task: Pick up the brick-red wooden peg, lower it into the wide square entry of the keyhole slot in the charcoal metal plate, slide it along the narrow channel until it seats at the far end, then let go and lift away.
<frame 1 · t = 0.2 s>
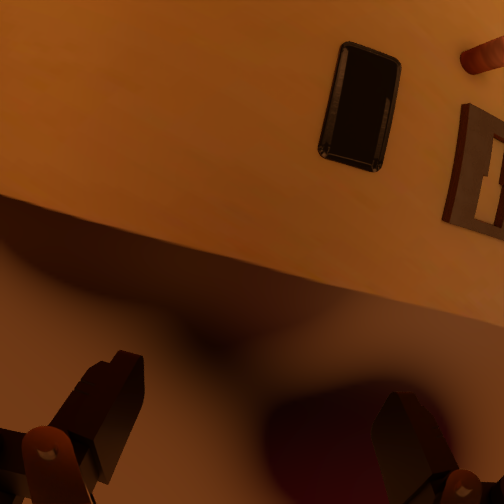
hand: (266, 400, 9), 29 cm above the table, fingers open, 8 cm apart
phone: (360, 105, 33), on the table
peg: (469, 63, 29), on the table
keyhole plate: (489, 176, 33), on the table
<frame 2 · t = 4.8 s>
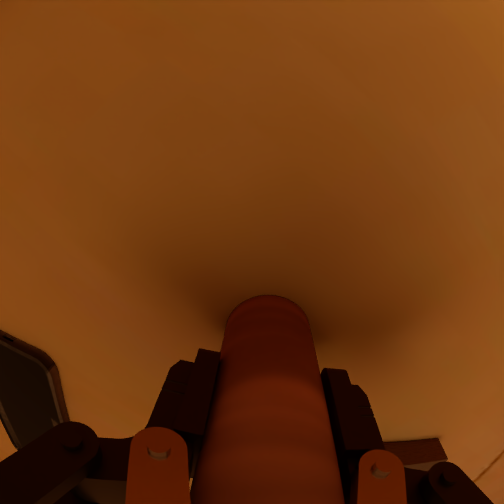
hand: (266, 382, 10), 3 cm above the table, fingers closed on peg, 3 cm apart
phone: (34, 409, 17), on the table
peg: (267, 332, 13), on the table, touching gripper
keyhole plate: (305, 501, 18), on the table
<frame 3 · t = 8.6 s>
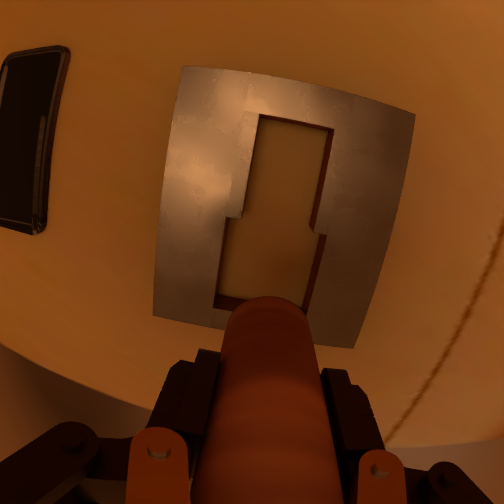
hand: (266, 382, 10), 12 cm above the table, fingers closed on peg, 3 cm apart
phone: (24, 138, 19), on the table
peg: (267, 333, 13), point 9 cm above the table, touching gripper
keyhole plate: (277, 211, 20), on the table
when the fingers open (4 cm above the table, at t = 12.9 s): peg stays where it is, resting in keyhole plate.
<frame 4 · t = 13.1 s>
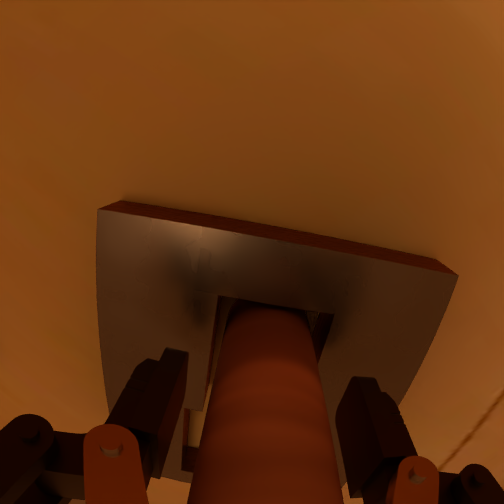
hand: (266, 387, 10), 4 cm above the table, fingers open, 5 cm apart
peg: (267, 323, 14), resting in keyhole plate
keyhole plate: (252, 384, 15), on the table
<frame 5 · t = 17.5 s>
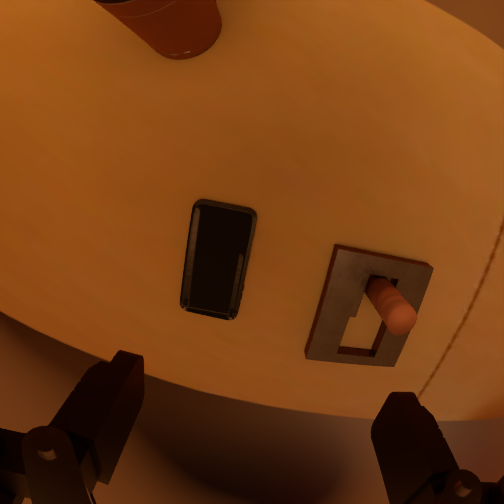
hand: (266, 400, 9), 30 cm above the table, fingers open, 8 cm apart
phone: (217, 260, 40), on the table
peg: (375, 284, 40), resting in keyhole plate
keyhole plate: (367, 309, 41), on the table
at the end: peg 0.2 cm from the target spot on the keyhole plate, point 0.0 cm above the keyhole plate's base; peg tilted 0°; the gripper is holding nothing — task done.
